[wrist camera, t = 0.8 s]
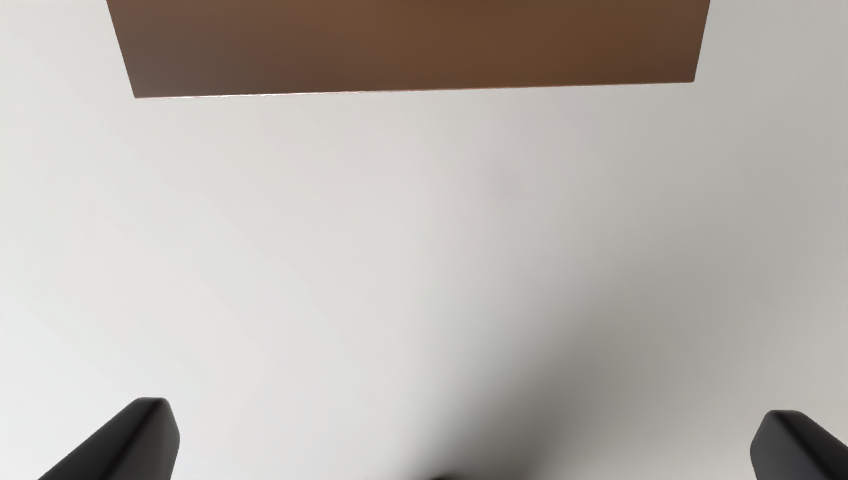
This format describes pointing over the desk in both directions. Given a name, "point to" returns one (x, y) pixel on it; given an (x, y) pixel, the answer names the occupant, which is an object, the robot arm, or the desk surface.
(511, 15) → the compartment lid
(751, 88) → the desk surface
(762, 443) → the robot arm
